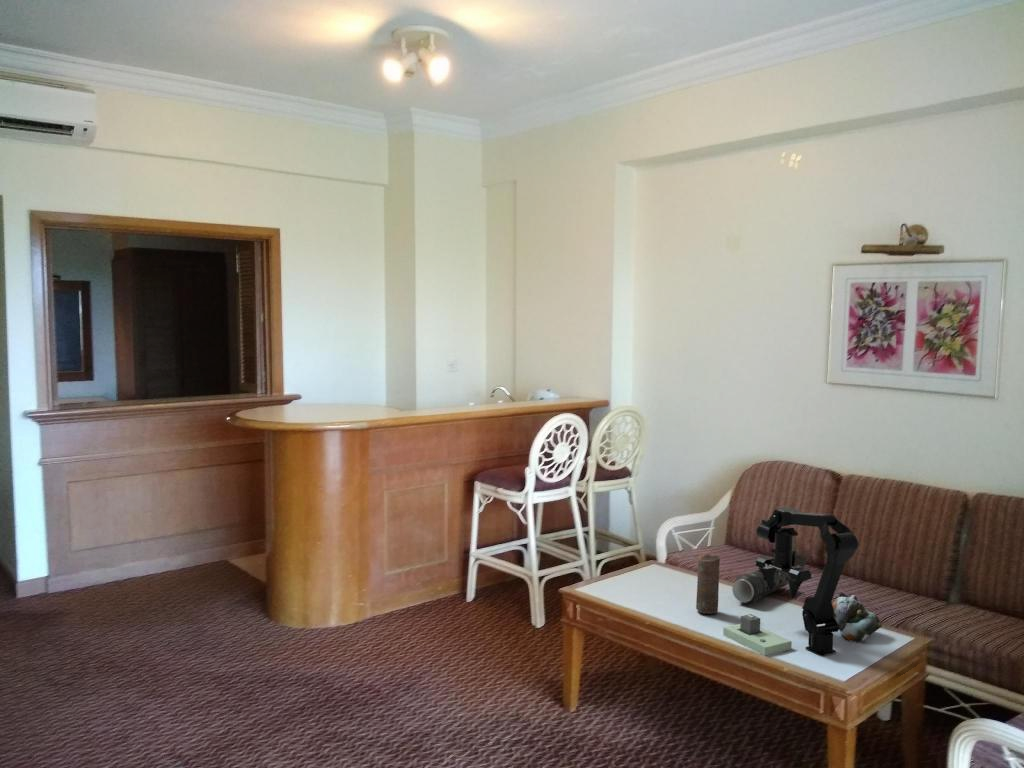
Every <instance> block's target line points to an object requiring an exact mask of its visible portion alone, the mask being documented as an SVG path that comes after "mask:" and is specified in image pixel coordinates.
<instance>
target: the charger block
mask: <svg viewBox="0 0 1024 768" xmlns="http://www.w3.org/2000/svg"><path fill="white" fill-rule="evenodd" d="M740 624H741V625H740V631H741V632H743V633H745V634H747V635H749V636H750V635H755V634H759V633H760V627H761V618H760V617H759V616H756V615H753V614H752V613H750V614H746V615H745V614H744V615H740Z"/></svg>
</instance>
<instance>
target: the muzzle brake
mask: <svg viewBox="0 0 1024 768" xmlns="http://www.w3.org/2000/svg"><path fill="white" fill-rule="evenodd" d="M788 579H790V576H789V573H787V572H784V571H781V570H779V569H777V570H776V572H775V575H774V587H773V590H770V589H769V587H768V584H767V582H766V580H765V578H764V576H763V574H762V572H761V570H759V569H757V570H755V571H752V572H750V573H748V574H747V573H746V574H743V575H741V576H739V577H736V579H735V580H734V582H733V584H732V589H731V590H732V594H733V596H734V597H735V599H736V600H737V601H738V602H740V603H746V604H753V603H754V601H755V602H757V601H758V600H760V599H761V598H763V597H766V595H770V594H773V593H774V592H776V591H778V590H780V589H782V588H784V587H786V586H788V585H789V581H788ZM756 600H757V601H756ZM752 602H753V603H752Z"/></svg>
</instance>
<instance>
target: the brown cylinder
mask: <svg viewBox="0 0 1024 768" xmlns="http://www.w3.org/2000/svg"><path fill="white" fill-rule="evenodd" d="M720 559H721V558H720V555H717V554H712V553H711V554H701V555H699V556H698V560H697V561H698V562H697V585H696V587H697V588H696V601H695V602H696V603H695V604H696V605H695V608H696V610H697V611H698V612H699V613H700V614H705V615H707V614H710V615H711V614H715V613H718V610H719V590H720V589H719V585H720V583H719V582H720V562H721V560H720Z"/></svg>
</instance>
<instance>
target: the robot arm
mask: <svg viewBox="0 0 1024 768" xmlns="http://www.w3.org/2000/svg"><path fill="white" fill-rule="evenodd" d="M791 526H792V527H791ZM793 526H807V527H814V528H815V527H817V528H818V529H819V531H820V538H821V540H822V541H823V542H824V543H825V548H824V549H825V553H826V556H827V559H826V561H825V565H824V566H823V567H824V568H823V570H822V573H821V577H820V579H819V581H818V585H817V588H816V591H815V594H814V595H813V596H809V597H806V598H805V599H804V603H803V606H801V609H802V613H801V614H802V620H803V626H804V630H805V631H806V632H808V643H807V644H808V645H807V646H805V650H807V651H809V652H812V653H814V654H817V655H819V656H821V657H824V656H829V655H832V654H837V650H835V649H834V633H838V632H839V631H840V630H839V625H838V623H837V621H836V619H835V617H834V615H833V612H834V608H833V605H832V603H833V602H832V601H833V598H834V595H835V593H836V590H837V587H838V584H839V581H840V578H841V575H842V572H843V570H844V567H845V564H846V563H847V562H848V561H850V559H851V558H853V556H855V553H856V551H857V550H858V547H859V541H858V537H856V536H855V534H854V533H853V532H852V530H851V529H850V528H849V527H848V526H846V525H845V524H844V523H843V522H841V521H839V520H838V518H837V516H835V515H834V514H832V513H816V512H815V513H813V512H801V511H800V510H799V509H797V508H793V507H785V508H775V509H773V511H772V514H771V515H770V517H769V519H761V523H760V524H759V525H758V527H757V528H756V535H757V537H758V538H759V539H760V540H763V541H765V542H768V543H770V544H771V543H772V544H774V546H773V547H774V548H771V550H770V551H771V553H773V557H772V556H770V555H765V556H760V557H757V559H756V561H755V567H758V570H761V572H762V574H763V576H764V578H765V580H766V582H767V584H768V587H769V589H770V590H773V587H774V575H775V572H776V570H777V569H779V570H781V571H784V572H787V573H789V576H790V579H788V581H789V584H788V586H789V594H790V598H791V599H796V595H797V594H798V592H799V589H800V587H801V585H802V584H803V583H804V582H807V581H808V580H812V571H811V570H810V569H806V568H805V566H806V563H807V559H808V558H806V557H804V556H800V555H797V551H796V550H795V549H794V537H796V536H797V537H798V536H799V532H797V531H796V530H795V528H794V527H793ZM787 527H788V528H787ZM829 528H831V530H833V532H835V533H831V532H830V531H829ZM798 566H800V567H798Z"/></svg>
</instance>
